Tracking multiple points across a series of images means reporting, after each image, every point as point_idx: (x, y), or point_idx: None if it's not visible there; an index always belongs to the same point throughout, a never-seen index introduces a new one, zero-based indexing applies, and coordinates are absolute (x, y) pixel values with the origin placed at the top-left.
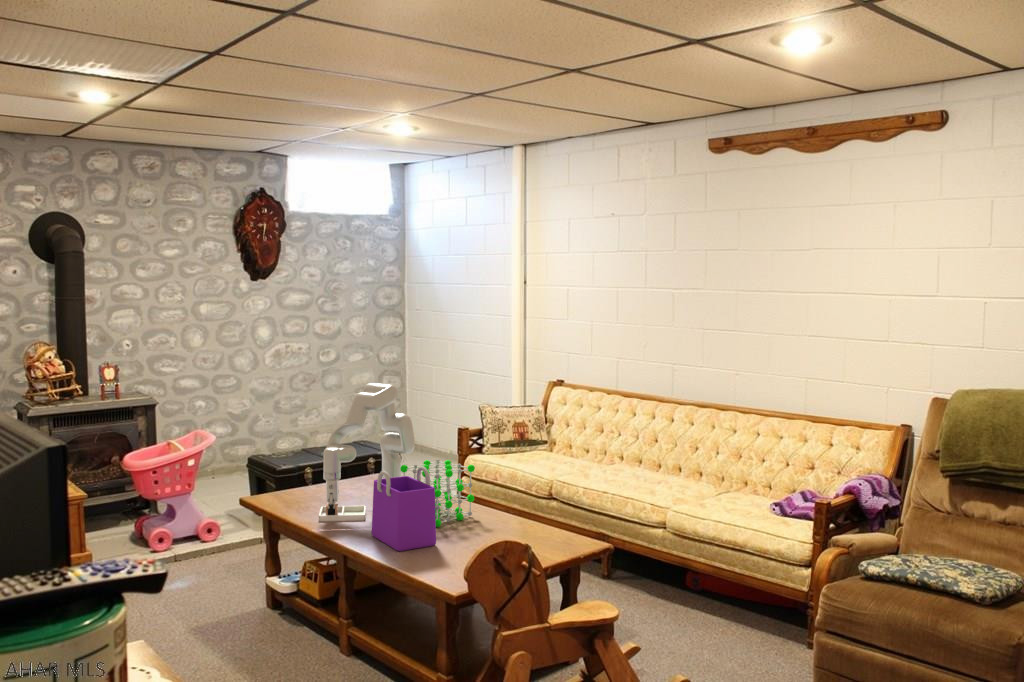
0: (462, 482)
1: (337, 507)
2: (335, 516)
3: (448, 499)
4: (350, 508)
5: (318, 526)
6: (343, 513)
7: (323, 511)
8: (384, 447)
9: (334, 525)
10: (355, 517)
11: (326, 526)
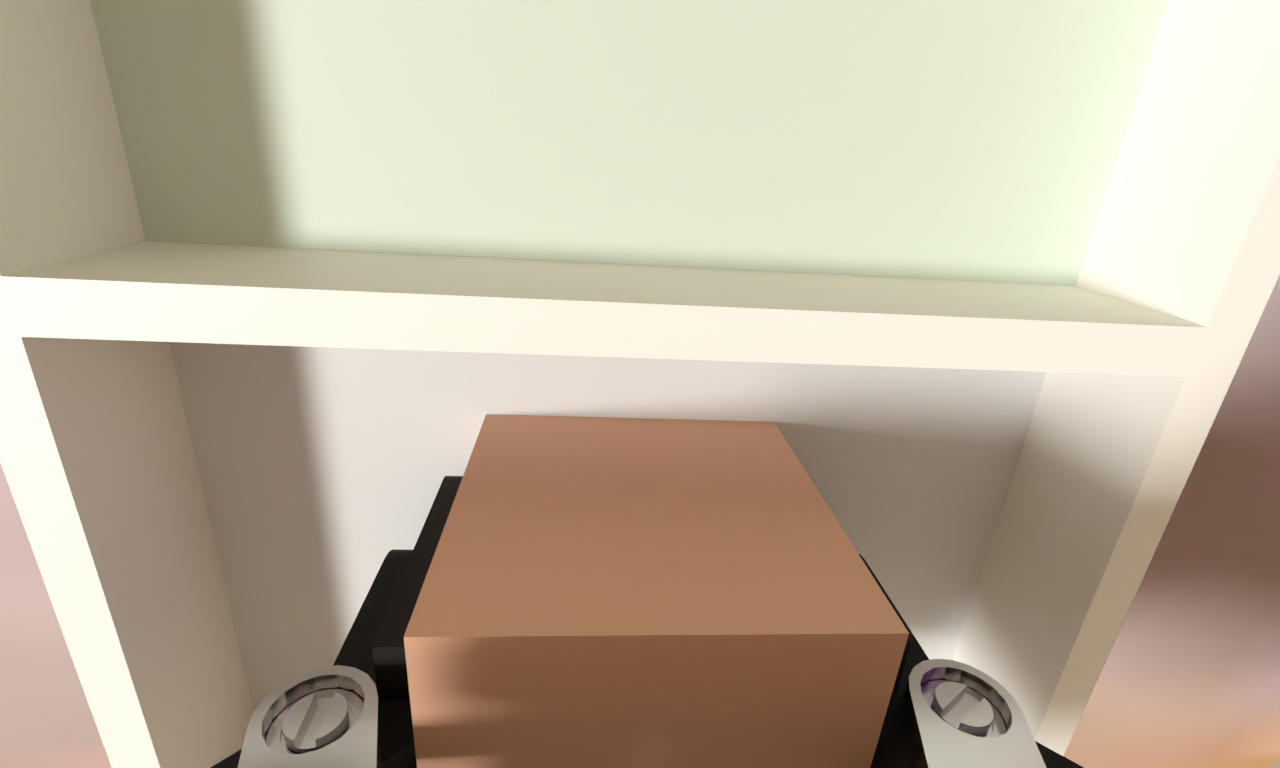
0: None
1: (786, 582)
2: (1142, 513)
3: None
4: (7, 6)
5: (1170, 691)
6: (777, 293)
7: (248, 718)
8: None
9: (1251, 450)
10: None
11: (1238, 580)
